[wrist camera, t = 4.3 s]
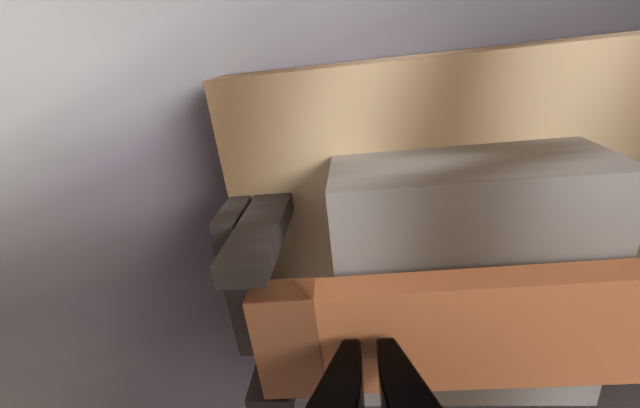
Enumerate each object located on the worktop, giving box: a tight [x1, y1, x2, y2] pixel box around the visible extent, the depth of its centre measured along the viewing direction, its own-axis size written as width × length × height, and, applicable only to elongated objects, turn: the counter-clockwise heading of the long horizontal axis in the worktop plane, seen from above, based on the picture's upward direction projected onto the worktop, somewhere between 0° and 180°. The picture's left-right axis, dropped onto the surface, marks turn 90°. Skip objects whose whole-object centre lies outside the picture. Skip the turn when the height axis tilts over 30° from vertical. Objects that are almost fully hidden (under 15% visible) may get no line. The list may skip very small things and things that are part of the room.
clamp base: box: [203, 30, 640, 408], centre depth 11 cm, size 14×12×6 cm
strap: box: [242, 258, 640, 399], centre depth 9 cm, size 12×3×1 cm, turn 96°
